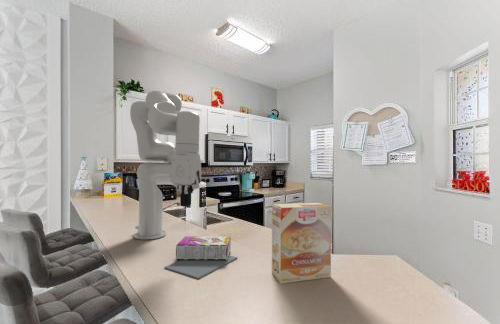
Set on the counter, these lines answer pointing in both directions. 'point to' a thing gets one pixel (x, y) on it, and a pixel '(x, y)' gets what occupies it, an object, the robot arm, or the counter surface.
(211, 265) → the mat
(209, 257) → the candy bar box
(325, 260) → the coffeecake box
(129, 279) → the counter surface
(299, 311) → the counter surface
